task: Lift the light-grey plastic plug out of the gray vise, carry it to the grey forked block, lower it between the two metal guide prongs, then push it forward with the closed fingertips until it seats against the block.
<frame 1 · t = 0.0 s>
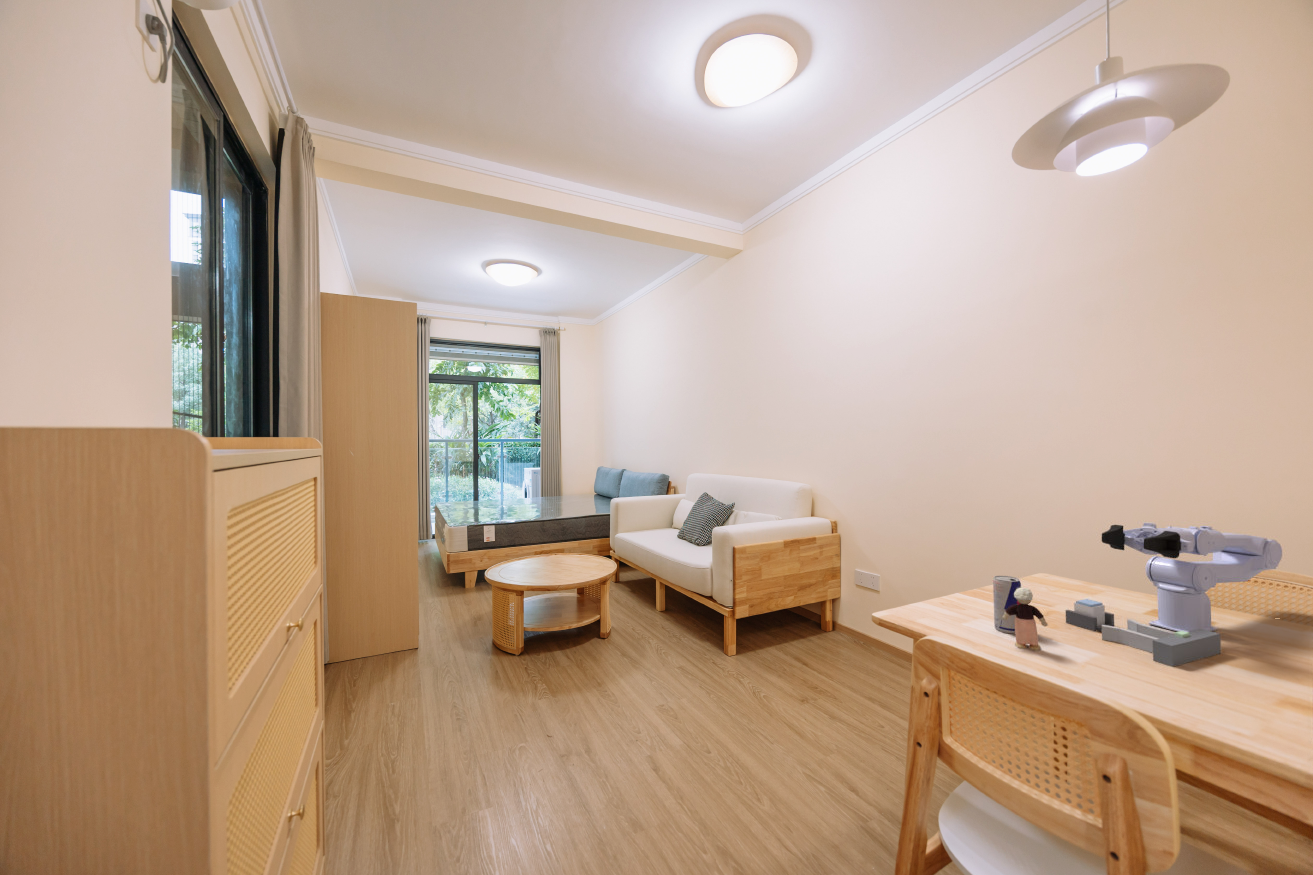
hand: (1123, 540, 111), 22 cm above the table, tool horizontal, fingers open, 7 cm apart
grey forked block: (1177, 653, 103), on the table
energy drink: (1008, 630, 118), on the table
grandmother figurine: (1024, 647, 109), on the table
plug: (1089, 625, 120), resting in gray vise
gray vise: (1089, 624, 120), on the table
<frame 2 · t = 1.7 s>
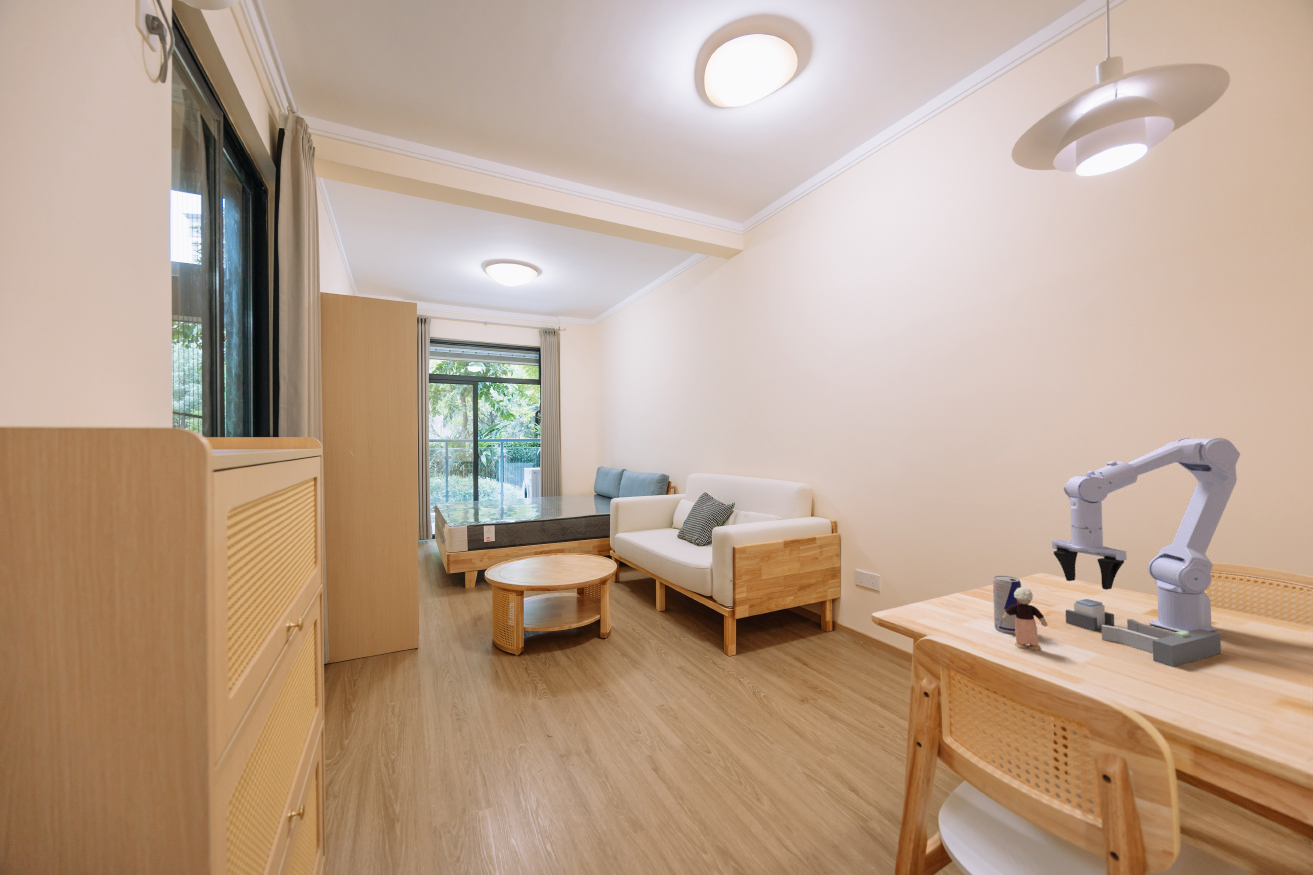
hand: (1088, 584, 120), 10 cm above the table, tool pointing down, fingers open, 7 cm apart
nothing on the table moved.
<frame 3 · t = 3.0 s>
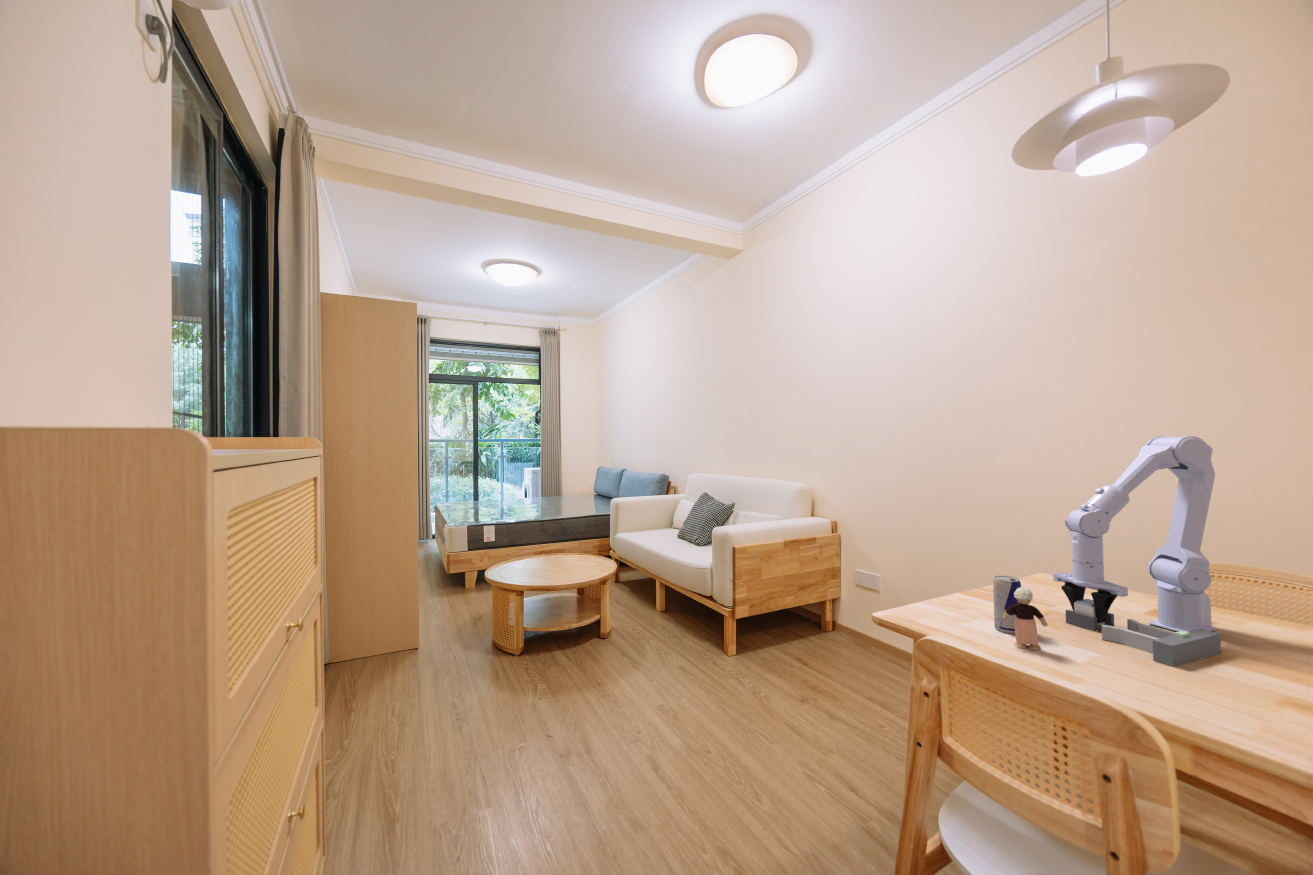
hand: (1089, 618, 120), 1 cm above the table, tool pointing down, fingers closed on plug, 4 cm apart
plug: (1089, 624, 120), resting in gray vise, touching gripper
everything else where it was.
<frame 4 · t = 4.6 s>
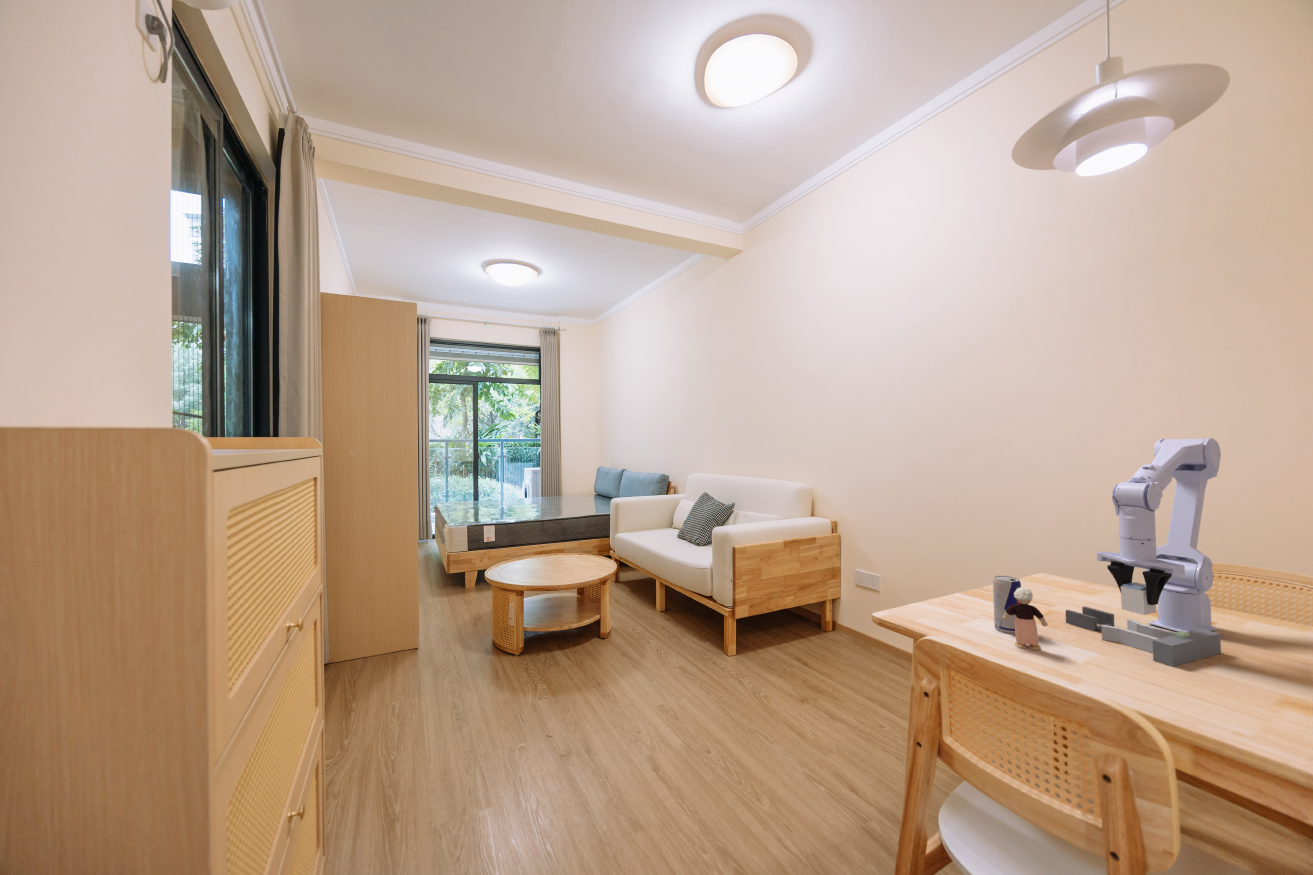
hand: (1139, 600, 109), 9 cm above the table, tool pointing down, fingers closed on plug, 4 cm apart
plug: (1138, 610, 109), point 7 cm above the table, touching gripper
everything else where it was.
when the fingers open (2 cm above the table, at t = 6.4 s): plug stays where it is, resting in grey forked block.
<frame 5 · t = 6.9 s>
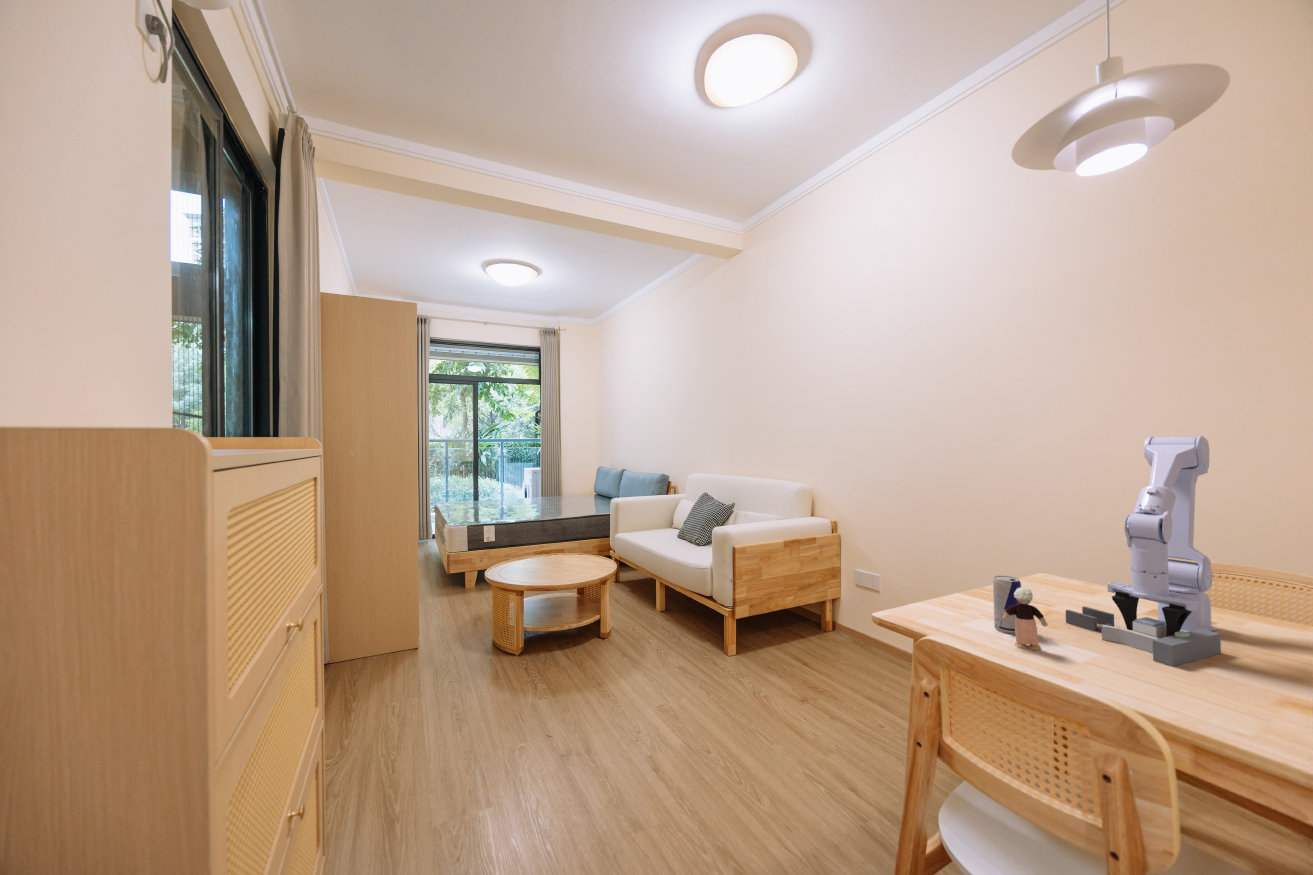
hand: (1151, 634, 107), 2 cm above the table, tool pointing down, fingers open, 6 cm apart
plug: (1150, 646, 107), resting in grey forked block
everything else where it was.
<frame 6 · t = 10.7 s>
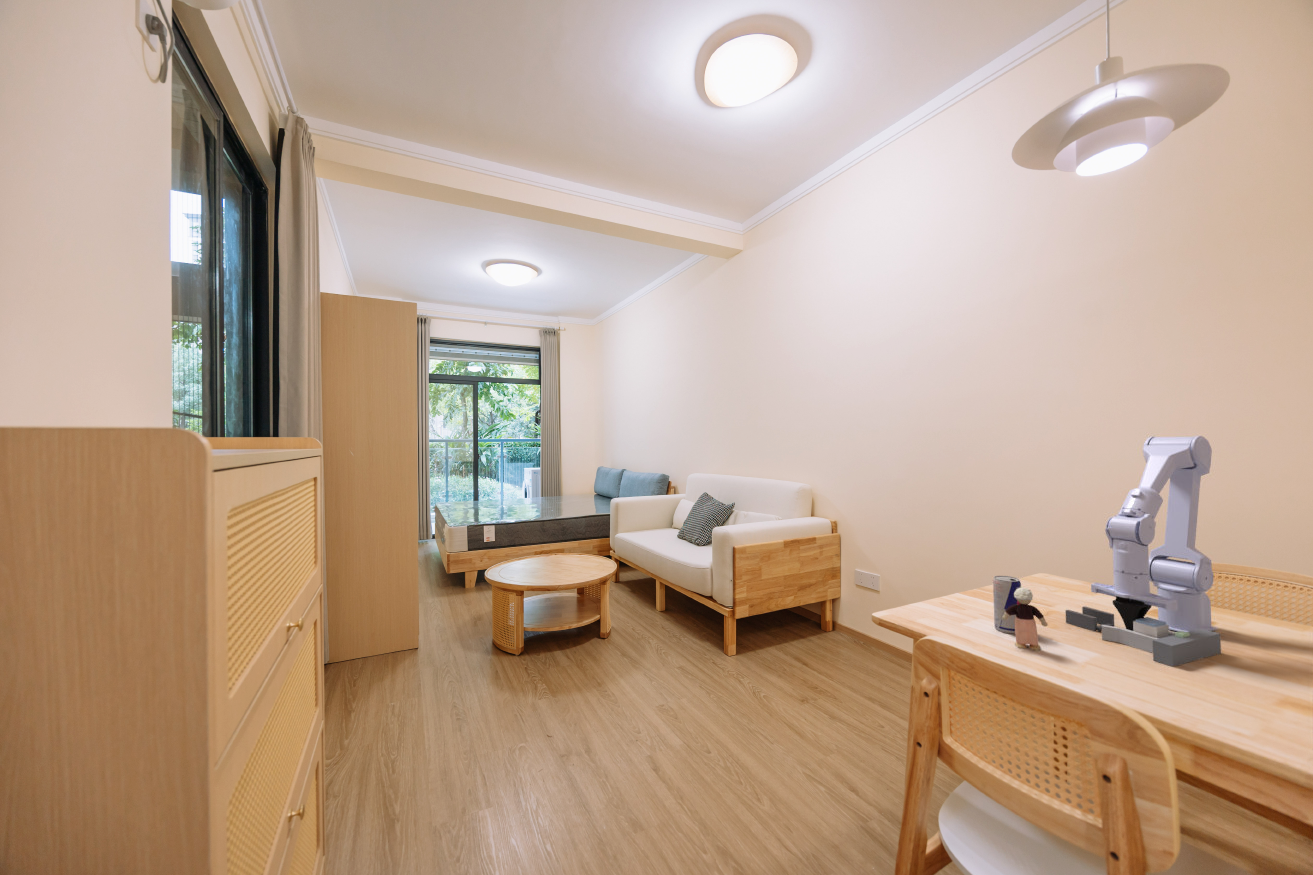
hand: (1132, 633, 110), 1 cm above the table, tool pointing down, fingers closed
plug: (1150, 646, 107), resting in grey forked block, touching gripper
everything else where it was.
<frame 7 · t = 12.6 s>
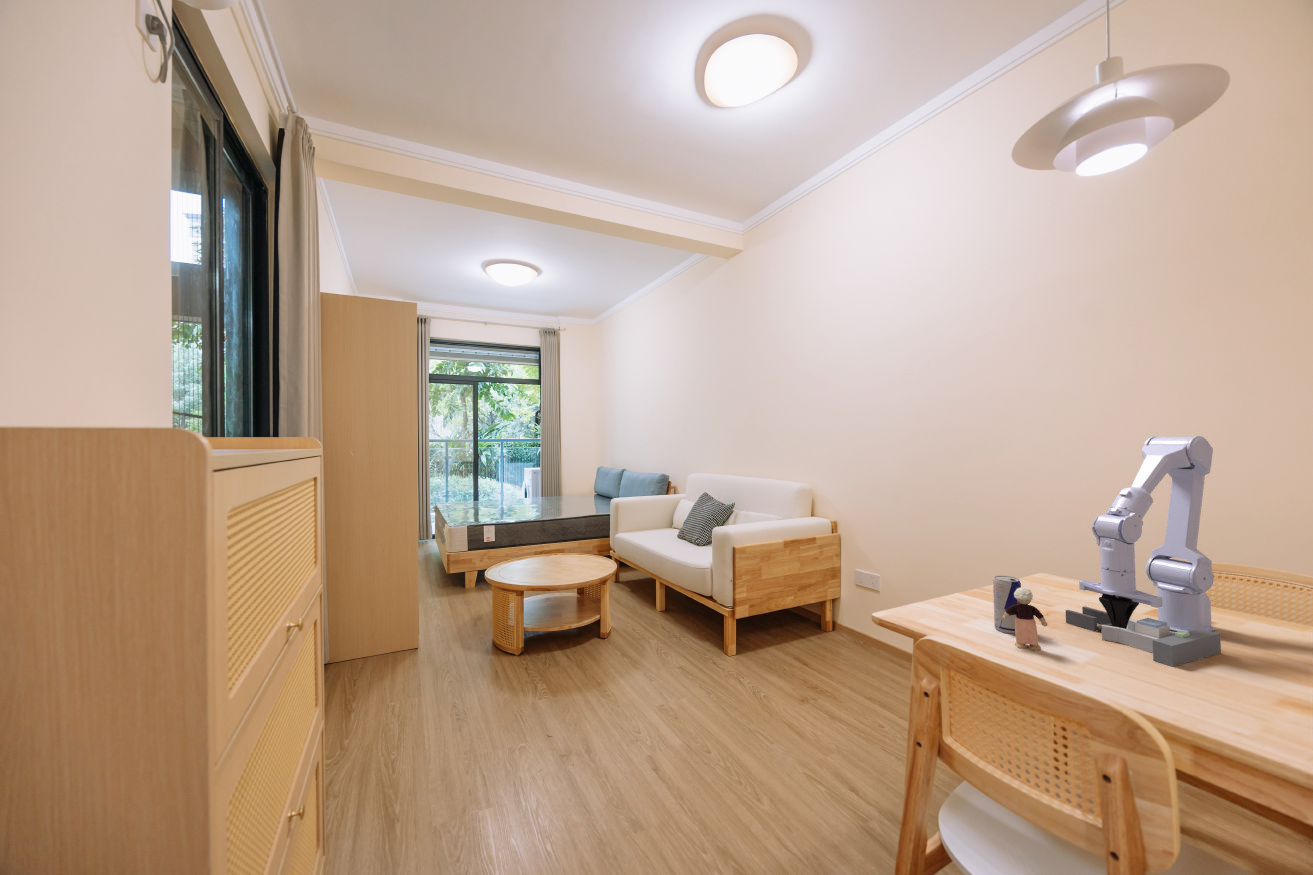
hand: (1119, 630, 113), 1 cm above the table, tool pointing down, fingers closed
plug: (1152, 647, 107), resting in grey forked block
everything else where it was.
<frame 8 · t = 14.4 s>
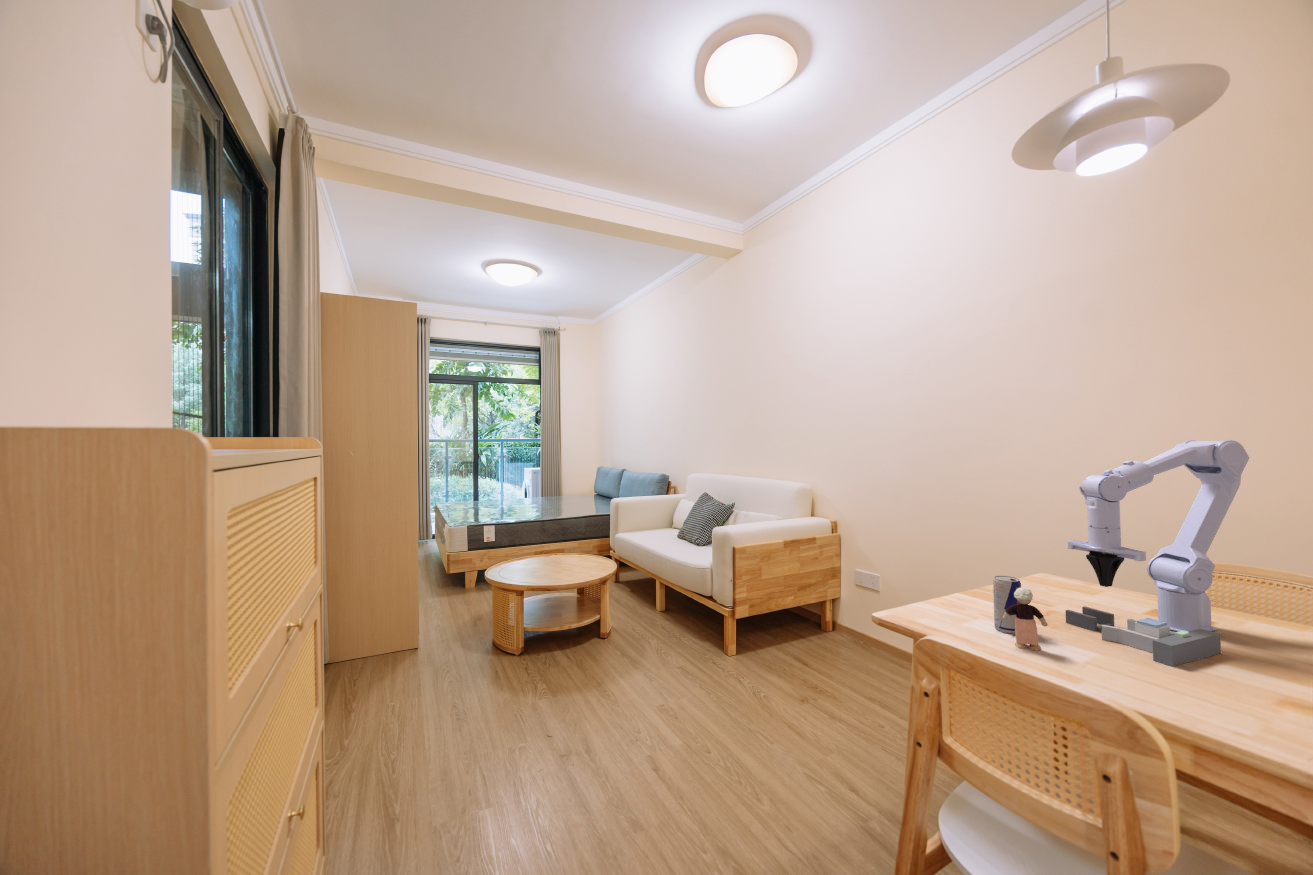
hand: (1105, 585, 118), 10 cm above the table, tool pointing down, fingers closed
nothing on the table moved.
at the end: plug 0.9 cm from the target spot on the grey forked block, point 0.0 cm above the grey forked block's base; plug tilted 0°; the gripper is holding nothing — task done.
